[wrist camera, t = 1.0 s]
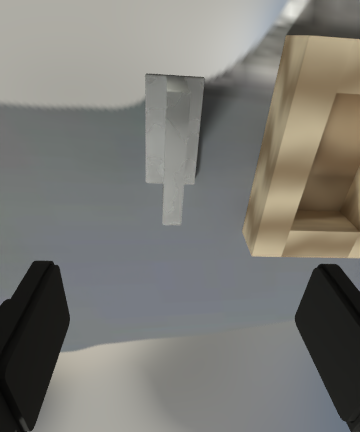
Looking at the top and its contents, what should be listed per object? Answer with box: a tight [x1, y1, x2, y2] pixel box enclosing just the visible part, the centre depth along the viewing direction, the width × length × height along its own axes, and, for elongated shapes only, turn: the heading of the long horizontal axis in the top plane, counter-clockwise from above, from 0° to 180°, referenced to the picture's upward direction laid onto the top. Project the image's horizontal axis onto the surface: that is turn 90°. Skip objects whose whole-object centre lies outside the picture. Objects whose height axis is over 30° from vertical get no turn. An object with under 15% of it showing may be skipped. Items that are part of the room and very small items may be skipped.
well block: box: [242, 35, 360, 258], centre depth 27 cm, size 20×14×4 cm
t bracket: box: [145, 74, 205, 225], centre depth 24 cm, size 10×5×8 cm, turn 177°
